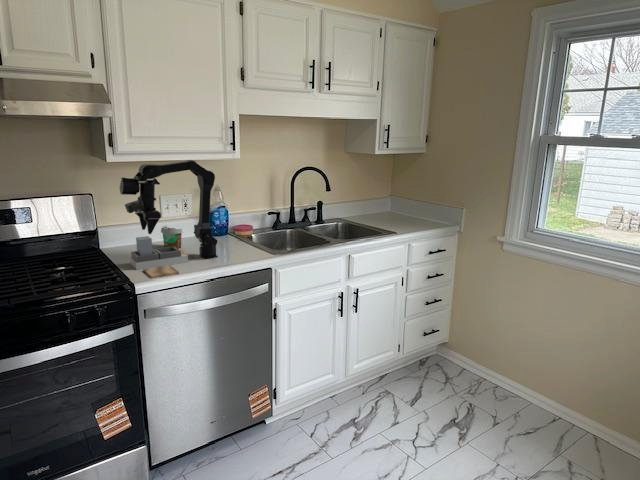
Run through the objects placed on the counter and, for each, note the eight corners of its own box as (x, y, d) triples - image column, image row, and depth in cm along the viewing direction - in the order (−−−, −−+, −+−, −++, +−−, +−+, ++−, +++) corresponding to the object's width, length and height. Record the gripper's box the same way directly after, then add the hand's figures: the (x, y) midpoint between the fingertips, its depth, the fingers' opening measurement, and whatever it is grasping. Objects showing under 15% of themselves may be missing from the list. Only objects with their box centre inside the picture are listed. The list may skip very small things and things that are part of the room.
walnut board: (170, 266, 198) (169, 265, 197) (178, 273, 189) (178, 271, 189) (143, 270, 191) (143, 269, 191) (151, 278, 183) (151, 276, 182)
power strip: (180, 257, 212) (180, 245, 211) (188, 262, 205) (187, 250, 204) (130, 264, 199) (129, 252, 198) (136, 269, 192) (135, 257, 191)
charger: (149, 256, 201) (148, 236, 199) (152, 259, 198) (151, 238, 195) (137, 257, 199) (136, 237, 196) (140, 260, 195) (139, 240, 193)
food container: (156, 247, 228) (155, 227, 226) (166, 244, 233) (165, 225, 231) (172, 251, 221) (171, 230, 219) (183, 248, 226) (182, 228, 224)
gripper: (121, 191, 195) (120, 228, 198) (132, 197, 180) (132, 237, 183) (148, 192, 201) (147, 227, 204) (161, 198, 187) (160, 236, 190)
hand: (146, 231), depth 195 cm, fingers open, 9 cm apart
